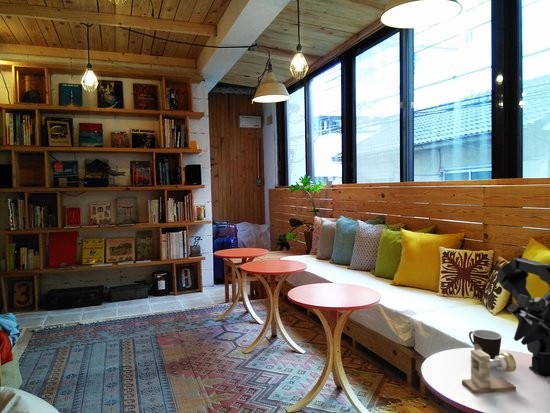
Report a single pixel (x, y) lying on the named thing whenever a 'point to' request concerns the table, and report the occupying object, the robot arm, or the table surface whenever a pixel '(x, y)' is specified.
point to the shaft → (504, 362)
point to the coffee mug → (487, 342)
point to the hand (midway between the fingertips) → (518, 341)
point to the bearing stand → (484, 376)
